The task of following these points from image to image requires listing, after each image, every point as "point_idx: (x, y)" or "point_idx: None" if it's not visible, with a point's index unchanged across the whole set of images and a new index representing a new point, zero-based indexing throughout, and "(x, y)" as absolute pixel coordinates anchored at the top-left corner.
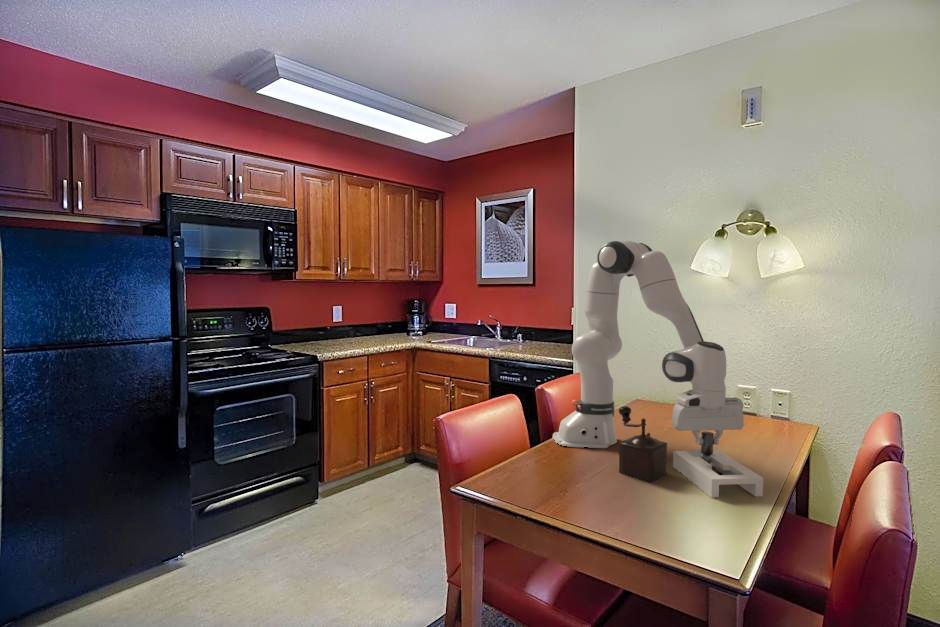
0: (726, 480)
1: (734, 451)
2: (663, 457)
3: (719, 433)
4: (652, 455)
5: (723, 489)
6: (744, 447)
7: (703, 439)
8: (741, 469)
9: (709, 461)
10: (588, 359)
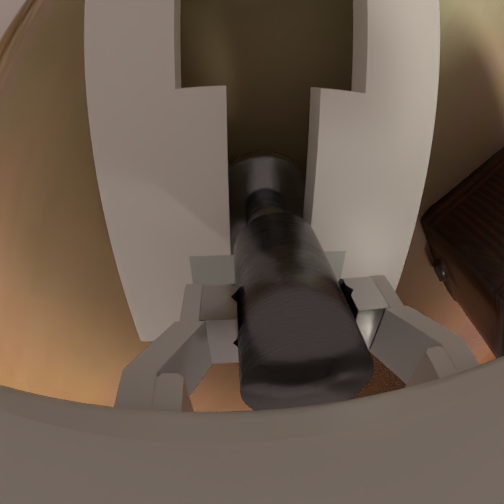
0: None
1: (67, 376)
2: (494, 234)
3: (163, 377)
4: None
5: (277, 5)
6: (42, 388)
7: (357, 311)
8: (139, 8)
9: (261, 205)
10: None
